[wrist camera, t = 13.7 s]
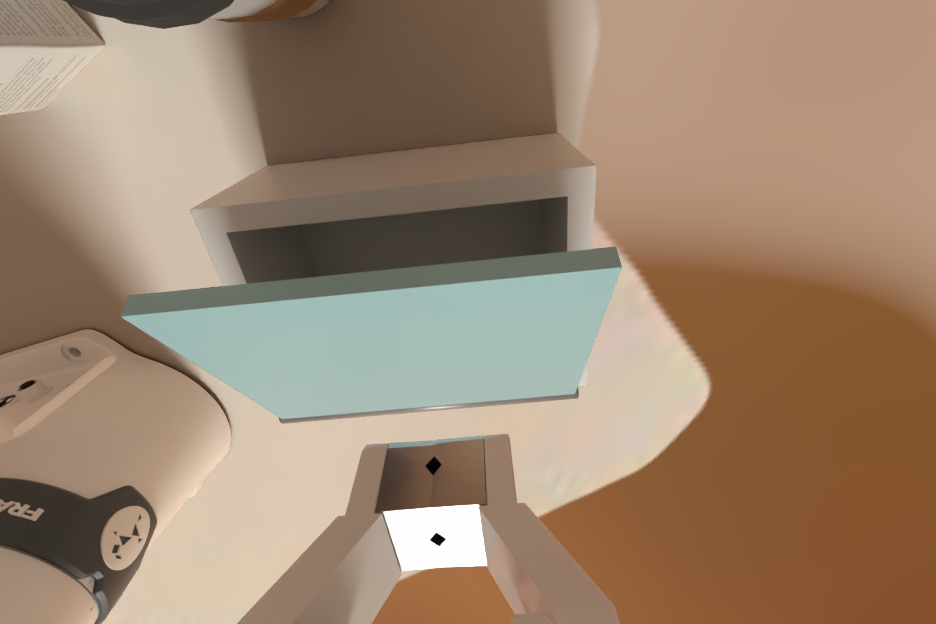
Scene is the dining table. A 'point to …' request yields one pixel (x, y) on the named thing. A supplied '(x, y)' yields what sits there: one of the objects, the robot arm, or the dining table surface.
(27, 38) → the product box
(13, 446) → the robot arm
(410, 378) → the cover
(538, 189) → the white box
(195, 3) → the coffee cup
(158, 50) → the dining table surface
